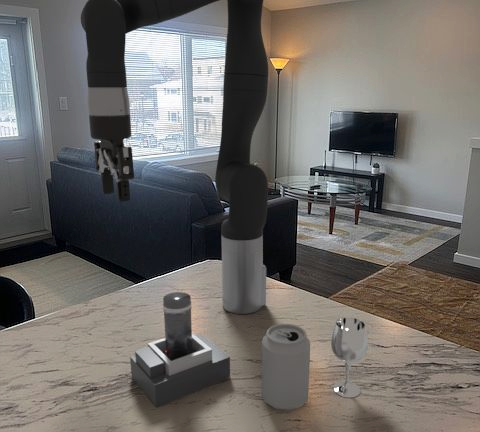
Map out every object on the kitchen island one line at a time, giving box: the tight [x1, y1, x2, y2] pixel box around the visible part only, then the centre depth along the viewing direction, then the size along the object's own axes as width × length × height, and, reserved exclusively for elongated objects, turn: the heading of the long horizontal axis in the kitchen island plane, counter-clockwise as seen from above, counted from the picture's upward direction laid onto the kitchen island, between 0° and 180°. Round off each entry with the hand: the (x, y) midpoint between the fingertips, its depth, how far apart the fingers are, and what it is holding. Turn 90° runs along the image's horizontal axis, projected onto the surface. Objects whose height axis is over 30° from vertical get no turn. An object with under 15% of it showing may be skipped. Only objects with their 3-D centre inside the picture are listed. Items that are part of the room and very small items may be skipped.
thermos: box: [162, 291, 193, 361], centre depth 80 cm, size 5×5×11 cm
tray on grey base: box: [129, 332, 231, 408], centre depth 82 cm, size 14×10×6 cm
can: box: [261, 323, 311, 412], centre depth 75 cm, size 8×8×12 cm
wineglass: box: [330, 316, 369, 399], centre depth 78 cm, size 6×6×12 cm
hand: (115, 197), depth 93 cm, fingers open, 8 cm apart
